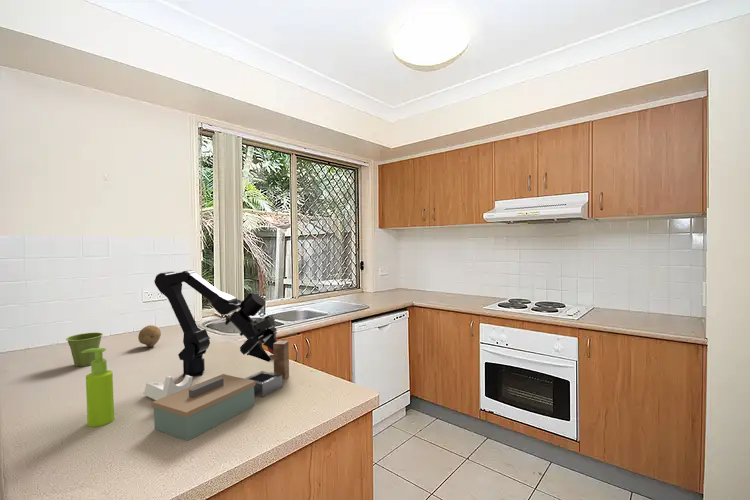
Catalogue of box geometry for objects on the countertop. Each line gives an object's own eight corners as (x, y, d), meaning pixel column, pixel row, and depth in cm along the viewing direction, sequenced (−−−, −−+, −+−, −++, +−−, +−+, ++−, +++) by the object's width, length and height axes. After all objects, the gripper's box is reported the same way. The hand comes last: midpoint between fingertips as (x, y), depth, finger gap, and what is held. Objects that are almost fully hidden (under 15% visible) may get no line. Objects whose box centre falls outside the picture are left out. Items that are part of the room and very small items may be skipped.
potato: (153, 349, 172) (153, 327, 172) (134, 350, 172) (133, 327, 172) (165, 344, 181) (164, 323, 181) (146, 344, 181) (145, 323, 181)
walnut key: (274, 379, 134) (273, 343, 134) (278, 375, 138) (277, 340, 138) (284, 379, 134) (284, 344, 133) (289, 375, 138) (288, 341, 137)
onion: (278, 357, 159) (277, 338, 159) (265, 356, 160) (264, 337, 160) (284, 353, 165) (283, 334, 164) (271, 352, 166) (271, 334, 166)
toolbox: (152, 429, 100) (151, 394, 99) (236, 390, 124) (235, 362, 124) (187, 441, 93) (186, 404, 93) (268, 398, 118) (267, 368, 118)
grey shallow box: (241, 392, 123) (241, 379, 123) (262, 382, 131) (261, 371, 131) (262, 397, 119) (262, 384, 119) (282, 387, 127) (282, 375, 127)
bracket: (187, 402, 119) (192, 376, 120) (164, 404, 113) (170, 377, 115) (166, 392, 126) (171, 369, 128) (143, 394, 121) (149, 369, 122)
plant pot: (59, 367, 150) (58, 338, 150) (92, 358, 161) (91, 331, 161) (79, 370, 146) (78, 341, 146) (110, 361, 157) (109, 333, 156)
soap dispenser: (92, 417, 107) (89, 346, 106) (118, 416, 108) (116, 345, 107) (78, 427, 101) (75, 352, 100) (105, 426, 102) (103, 351, 101)
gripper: (248, 314, 127) (280, 349, 126) (271, 304, 145) (299, 334, 144) (226, 337, 128) (257, 371, 127) (252, 324, 147) (280, 354, 146)
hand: (275, 356), depth 136 cm, fingers open, 9 cm apart
